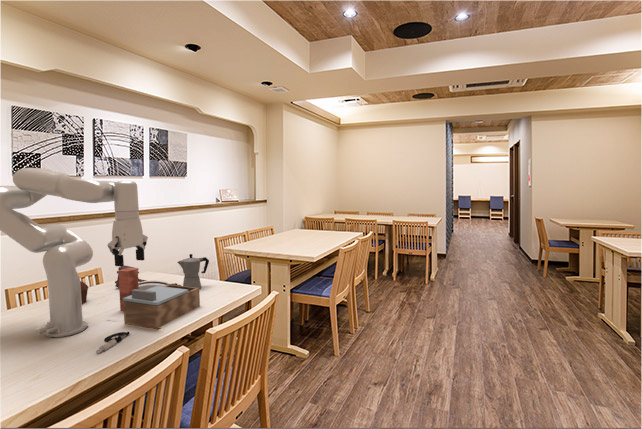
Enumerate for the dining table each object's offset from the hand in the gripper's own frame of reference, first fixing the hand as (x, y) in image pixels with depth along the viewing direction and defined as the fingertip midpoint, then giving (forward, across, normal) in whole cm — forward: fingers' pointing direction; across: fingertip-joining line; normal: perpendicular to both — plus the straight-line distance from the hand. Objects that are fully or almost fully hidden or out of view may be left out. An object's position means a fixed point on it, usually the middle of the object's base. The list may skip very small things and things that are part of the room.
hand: (130, 263), depth 128 cm
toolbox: (+25, -15, +1) cm, 29 cm away
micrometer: (+26, +11, 0) cm, 28 cm away
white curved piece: (+25, -31, -19) cm, 45 cm away
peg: (+25, -15, -16) cm, 33 cm away
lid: (+16, -11, +1) cm, 19 cm away
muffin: (+24, -17, -48) cm, 56 cm away
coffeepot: (+25, -50, -10) cm, 57 cm away
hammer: (+25, -45, -32) cm, 60 cm away
